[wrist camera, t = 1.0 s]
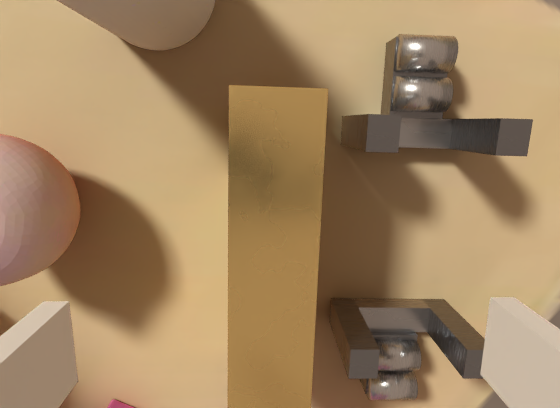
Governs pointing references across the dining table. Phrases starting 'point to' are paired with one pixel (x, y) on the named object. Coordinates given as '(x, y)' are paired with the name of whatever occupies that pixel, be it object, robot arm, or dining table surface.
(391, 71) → the pair of grey pieces
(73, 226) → the decorative fruit
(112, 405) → the gum box
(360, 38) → the dining table surface
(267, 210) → the link bar
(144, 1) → the cup
